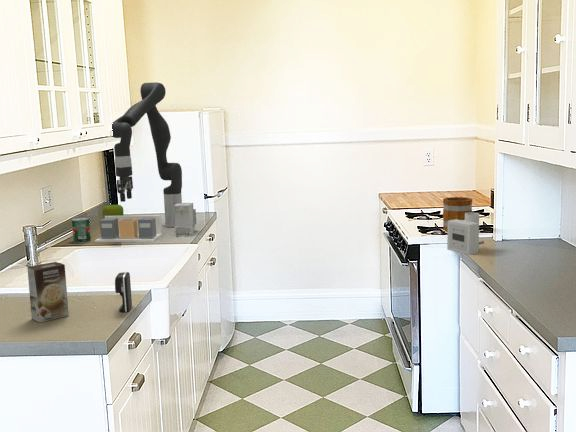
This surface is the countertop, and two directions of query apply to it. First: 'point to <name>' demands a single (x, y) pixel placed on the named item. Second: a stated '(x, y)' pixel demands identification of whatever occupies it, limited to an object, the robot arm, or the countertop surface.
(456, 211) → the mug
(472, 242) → the thermostat
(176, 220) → the circuit breaker
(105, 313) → the countertop surface
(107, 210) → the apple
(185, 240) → the countertop surface
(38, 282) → the coffee box
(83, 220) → the canned tomato
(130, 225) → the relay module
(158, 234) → the panel
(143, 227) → the block
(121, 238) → the rail
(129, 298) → the battery charger
